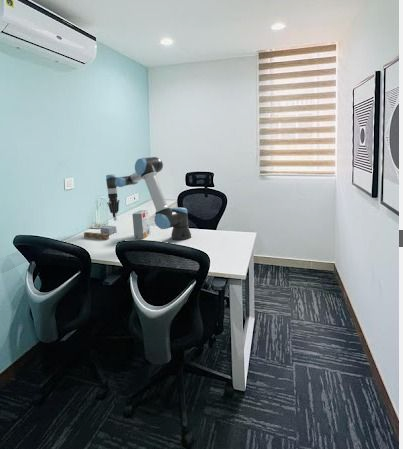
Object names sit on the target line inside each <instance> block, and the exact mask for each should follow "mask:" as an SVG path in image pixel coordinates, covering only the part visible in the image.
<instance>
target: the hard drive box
mask: <svg viewBox="0 0 403 449" xmlns="http://www.w3.org/2000/svg"><path fill="white" fill-rule="evenodd" d="M149 214H150V213H149V209H139V210H137V211H135V212H133V213H132V226H133V237H134V240H138V239H139V240H142V239H143V240H144V239H145V238H147V237H148V236H149V235H150V234H151V227H150V215H149ZM146 236H147V237H146Z"/></svg>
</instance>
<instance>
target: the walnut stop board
mask: <svg viewBox="0 0 403 449" xmlns="http://www.w3.org/2000/svg"><path fill="white" fill-rule="evenodd" d="M83 236H84V238H85V239H94V240H95V239H96V240H105V241H107V240H110V235H109V234H102V233H101V232H100V233H99V232H89V231H85V232H83Z"/></svg>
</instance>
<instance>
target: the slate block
mask: <svg viewBox="0 0 403 449" xmlns="http://www.w3.org/2000/svg"><path fill="white" fill-rule="evenodd" d="M99 230H100V233H102V234H109V236H112V234H113V235H115V234H114V233H116V234H117V232H118V231H117V226H115V225H108V224H107V225H104V226H101V227H99Z"/></svg>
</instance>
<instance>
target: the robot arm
mask: <svg viewBox="0 0 403 449" xmlns="http://www.w3.org/2000/svg"><path fill="white" fill-rule="evenodd" d="M163 168H164V164H163V161H162V160H161V159H160V158H159V157H156V156H151V157H140V158H138V159H136V161H135V164H134V171H135V172H134V173H132V174H130V175H125V176H118V177H117V176H116V174H107V175H106V176H105V180H106V188H107V189H106V190H107V197H108V202H107V203H106V204H107V206H108V208H109V212H110V213H111V214H112V217H113V221H114V222H117V221H118V212H119V210H120V209H119V208H120V199H118V188H123V187H125V186H131V185H133V186H134V185H136V184H138V183H139V182H141V180H144V182H145V184H146V187H147V189H148V190H147V191H148V192H149V195H150V198H151V201H152V203H153V206H154V208H155V214H154V215H155V216H154V219H153V220H154V224H155V225H156V226H157V227H158V228H159V229H160V230H166V229H167V230H168V229H170V228H172V231H171V235H170V236H171V237H170V238H171V239H172V240H175V241H184V240H189V239H191V237H192V233H191V229H190V228H189V218H188V217H189V216H188V209H187V208H186V207H172V208H171V207H170V206H168V204H167V201H166V199H165V196H164V194H163V191H162V188H161V186H160V183H159V181H158V179H157V174H158V173H160V172H161V171H162V170H163ZM117 187H118V188H117Z"/></svg>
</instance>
